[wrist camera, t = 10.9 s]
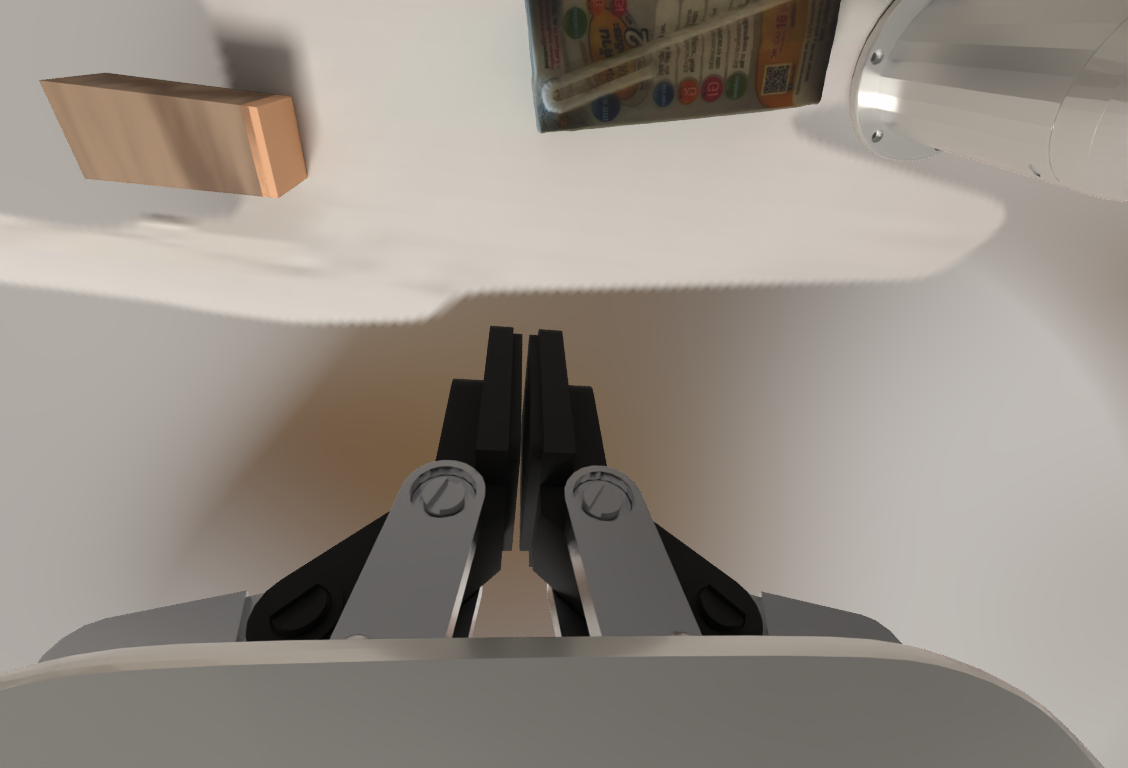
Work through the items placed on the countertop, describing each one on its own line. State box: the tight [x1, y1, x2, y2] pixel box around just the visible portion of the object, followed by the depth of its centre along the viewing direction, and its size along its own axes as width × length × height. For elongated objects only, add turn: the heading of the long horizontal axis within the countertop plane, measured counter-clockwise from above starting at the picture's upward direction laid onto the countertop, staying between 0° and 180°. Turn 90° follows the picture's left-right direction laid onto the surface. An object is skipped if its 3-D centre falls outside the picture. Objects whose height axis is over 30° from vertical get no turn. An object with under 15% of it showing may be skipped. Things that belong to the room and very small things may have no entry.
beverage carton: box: [525, 0, 841, 133], centre depth 31 cm, size 8×19×7 cm, turn 95°
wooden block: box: [40, 73, 308, 198], centre depth 32 cm, size 6×6×12 cm
